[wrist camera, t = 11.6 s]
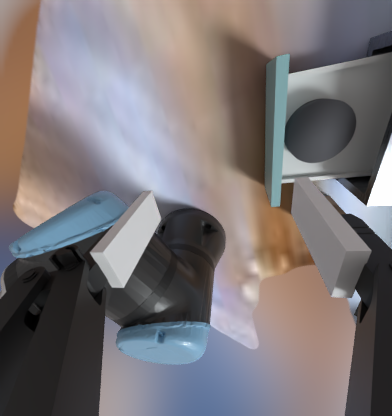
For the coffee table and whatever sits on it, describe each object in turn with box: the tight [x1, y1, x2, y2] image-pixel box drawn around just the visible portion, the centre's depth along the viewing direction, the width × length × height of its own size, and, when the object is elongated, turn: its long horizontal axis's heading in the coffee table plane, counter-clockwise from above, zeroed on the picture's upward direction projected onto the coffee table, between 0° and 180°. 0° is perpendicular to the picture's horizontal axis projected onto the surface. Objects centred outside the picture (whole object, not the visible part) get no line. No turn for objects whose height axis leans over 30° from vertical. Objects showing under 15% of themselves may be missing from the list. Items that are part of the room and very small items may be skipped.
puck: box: [284, 98, 356, 163], centre depth 25 cm, size 8×8×2 cm
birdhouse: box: [265, 52, 392, 207], centre depth 24 cm, size 16×18×7 cm
